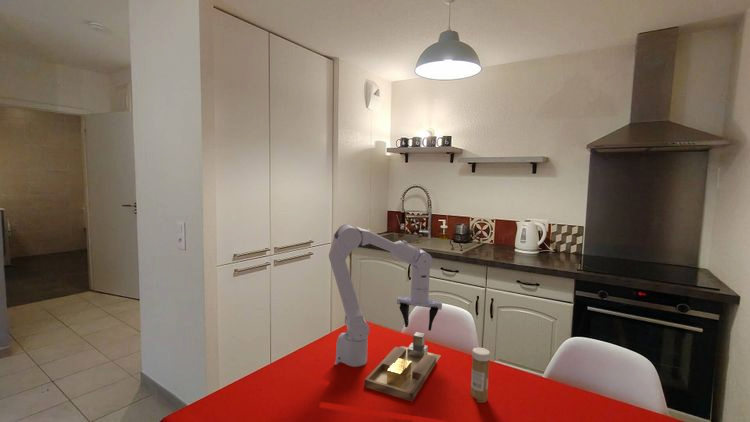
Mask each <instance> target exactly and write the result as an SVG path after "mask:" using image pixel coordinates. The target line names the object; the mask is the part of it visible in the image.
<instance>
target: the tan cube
mask: <svg viewBox="0 0 750 422" xmlns="http://www.w3.org/2000/svg"><path fill="white" fill-rule="evenodd" d="M394 364H395V365H399V366H403V367H406V372H405V381H406V380H407V379H408V378H409V376H410V375H411V361H408V360H404V359H400V358H398V360H397V361H396V362H395V363H394Z"/></svg>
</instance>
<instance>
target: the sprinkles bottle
mask: <svg viewBox="0 0 750 422" xmlns="http://www.w3.org/2000/svg"><path fill="white" fill-rule="evenodd" d="M471 355H472V356H471V357H472V363H471V364H472V366H471V376H470V377H471V382H470V386H471V387H470V395H471V397H472V398H474V399H476V403H480V404H482V403H483V404H485V403H486V402H487V401H488V389H489V388H488V387H489V368H490V367H489V366H490V360H491V352H490V350H488V349H487V348H483V347H474V348H472V353H471Z"/></svg>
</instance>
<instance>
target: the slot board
mask: <svg viewBox="0 0 750 422" xmlns="http://www.w3.org/2000/svg"><path fill="white" fill-rule="evenodd" d="M408 347H409V346H404V345H401V346H399V347H398V346H394V348H393V349H392V350H391V351H390V352H389V353H388V354H387V355H386V356H385V357H384V359H382V361H381V362H379V364H378V365H376V367H375V368H374V369H373V370H372V371H371V372H370V373H369V375H367V376H366V378H364V387H365V388H367V389H371V390H374V391H377V392H381V393H383V394H387V395H391V396H393V397H398V398H400V399H402V400H407V401H410V402H413V401H414V400H415V398H416V396H417V395H418V393H419V391H420V390H421V388H422V387H423V385H424V383H425V382H426V381H427V379H428V377H429V375H430V373H431V372H432V371H433V369H434V367H435V366H436V364H437V363H438V360H439V359H440V358H441V356H442V355H440V354H436V353H433V352H428V351H427V354H425V355H424V356H423V358H422V359H418V358H414V357H409V356H407V351H408ZM398 358H400V359H404V360H408V361H411V375H410V376H409V378H408V379H407V380H406V381H405V382H404V383H403V384H402V386H401V387H400V388H399V387H396V386H393V385H389V384H387V370H388V369H389V368H390V366H391V365H392V364H394V363H395V362H396V361H397V360H398Z"/></svg>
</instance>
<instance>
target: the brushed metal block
mask: <svg viewBox="0 0 750 422" xmlns="http://www.w3.org/2000/svg"><path fill="white" fill-rule="evenodd" d="M412 337H413V342H411V343H410V344H409V346H407V347H408V351H407V356H409V357H414V358H418V359H422V358H423V356H424V355H425V354H427V352H428V347H429V346H428V345H426V344H425V333H424V332H418V331H415V332H414V334H413V336H412Z"/></svg>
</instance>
